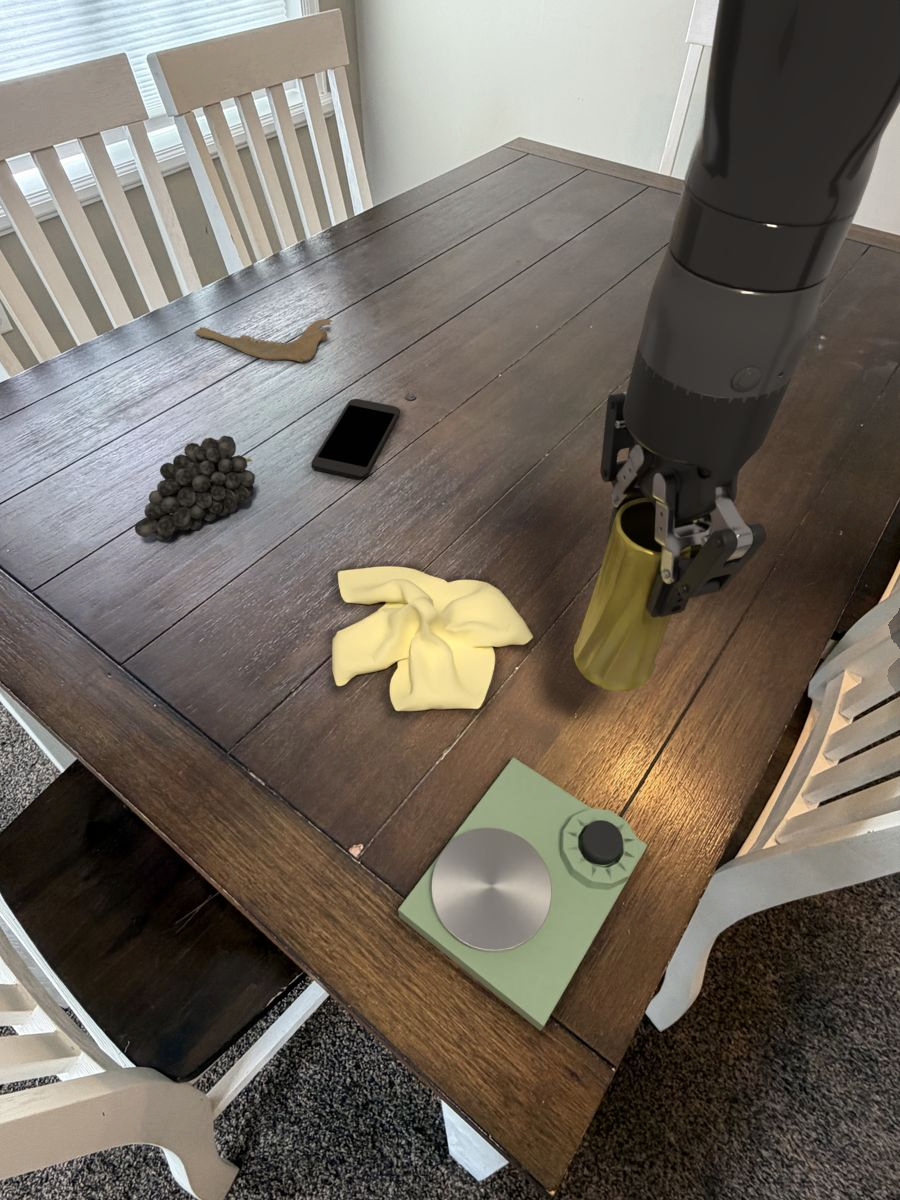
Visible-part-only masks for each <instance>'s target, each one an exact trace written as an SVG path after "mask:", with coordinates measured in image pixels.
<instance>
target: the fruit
mask: <svg viewBox="0 0 900 1200" xmlns="http://www.w3.org/2000/svg"><path fill="white" fill-rule="evenodd" d="M236 451H237V444H236V442H235V440H234V438H233V437H232V436H230V435H222V436H221V437H220V438H219V439H216V438H213V437H206V438H204V439H203V440H202V441H201V444H200V445H199V444H198V443H195V442H190V443H187V444H186V445H185V447H184V453H183V454H181V453H180V454H178V455H175V456H174V458H173V460H172V462H173V463H172V462H165V463H163V464H162V465H161V466H160V469H159V473H160V475H161V476H162V478H163V479H162V480H160V481H159V482H158V483H157V485H156V490H151V492H150V493H149V495H148V501H149V503H148V504H146V505H145V507H144V515H145V517H146V518H144V519H140V520H139V521H137V522H136V523H135V526H134V531H135V533H136V534H137V535H138V536H139V537H143V538H147V537H150V536H152V535H155V537H156V538H157V539H158V540H160V541H170V540H171V539H172V537H173V534H174V533H175V532H177V531H179V530H180V531H187V530H189V529H190V530H193V531H196V530H200V528H201V527H202V526H203V521H202V519H204V520H205V521H206V522H213V521H214V520H216V519H217V516H223V517H224V516H226V515H228V514H230V513H233V512H235V511H236V510H237V509H238V504H246V503H247V502H249V501H250V500H251V499H250V498H252V497H253V496H254V495H255V488H254V484H255V480H256V477H255V473H254V472H253V471H251V470H248V469H247V467H248V463H249V462H252V461H253V460H252V459H251V458H246V457H245V456H242V455H240V454H238V455H235V454H236Z"/></svg>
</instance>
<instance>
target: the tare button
mask: <svg viewBox="0 0 900 1200" xmlns="http://www.w3.org/2000/svg"><path fill="white" fill-rule="evenodd" d="M622 846H623V838H622V835H621V833H620V831H619V829H618V828H617V827H616V826H615V825H613V824H612V823H610V822H608V821H604V820H598V821H594V822H592V823H590V824H589V825H588V826H587V828H586V829H585V832H584V834H583V837H582V840H581V848H582V851H583V853H584V855H585V856H586V857H587V858H588V859H589V860H590V861H591V862H593V863H595V864H598V865H607V864H610V863H612V862H613V861H614V860H615V859H616V858H617V856H618V855H619V853H620V851H621V849H622Z"/></svg>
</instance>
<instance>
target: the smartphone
mask: <svg viewBox="0 0 900 1200" xmlns="http://www.w3.org/2000/svg"><path fill="white" fill-rule="evenodd" d="M400 415H401V410H400V408H399V407H397V406H395V405H390V404H385V403H381V402H375V401H371V400H365V399H360V398H352V399H350V400H348V402H347V403H346V405H345V406H344V408H343V409H342V411H341V413H340V415H339V416H338V418H337V419H336V421H335V422H334V424H333V426H332V428H331V429H330V431H329V432H328V434H327V436H326V437H325V439H324V440H323V442H322V444H321V446H320V447H319V449H318V451H317V452H316V454H315V455H314V457H313V459H312V460H311V467H312V469H313V470H315V471H316V470H317V471H320V472H324V473H330V474H334V475H339V476H343V477H349V478H354V479H357V480H363V479H366V478H367V477H368V476H369V474H370V472H371V470H372V469H373V467H374V465H375V463H376V461H377V459H378V457H379V456H380V454H381V452H382V449H383V448H384V446H385V445H386V442H387V441H388V439H389V437H390V435H391V433H392V431H393V429H394V427H395V425H396V423H397V421H398V419H399V418H400Z"/></svg>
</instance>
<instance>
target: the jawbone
mask: <svg viewBox="0 0 900 1200" xmlns="http://www.w3.org/2000/svg"><path fill="white" fill-rule="evenodd" d="M331 322H333V319H329V318H321V319H318V320H315V321H313V322H312V323H311V324H310V325H308V326H307V327H306V329H305V330H304V331H303V332H302V334H301V335H300V336H299V337H298V338H297V339H294V340H293V341H290V342H282V341H279V342H278V341H277V340H275V341H273V340H270V341H269V340H268V339H266V340H264V339H260V338H255V337H254V336H253V337H251V336H250V335H246V334H242V335H240V336H239V337H231V336H228V335H224V334H221V333H220V332H218V331H215V330H212V329H210V328H207V327H205V326H200V327H199V328H198V329H196V330H195V331H194V332H193V333H194V334H195V335H197V336H200V337H203V338H206V339H209V340H213V341H218V342H220V343H222V344H224V345H227V346H229V347H231V348H233V349H235V350H237V351H239V352H242V353H244V354H246V355H249V356H251V357H255V358H258V359H262V360H270V361H271V360H272V361H280V360H286V361H287V360H288V361H295V362H308V361H309V360H311V359H312V358H313V357H314V356H315V355H316V351H317V349H318V344H319V343H320V342H326V340H327V339H328V331H327V329H325V328H324V329H323V327H324V326H330V325H332V324H331ZM321 328H322V329H321ZM320 329H321V330H320Z"/></svg>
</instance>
